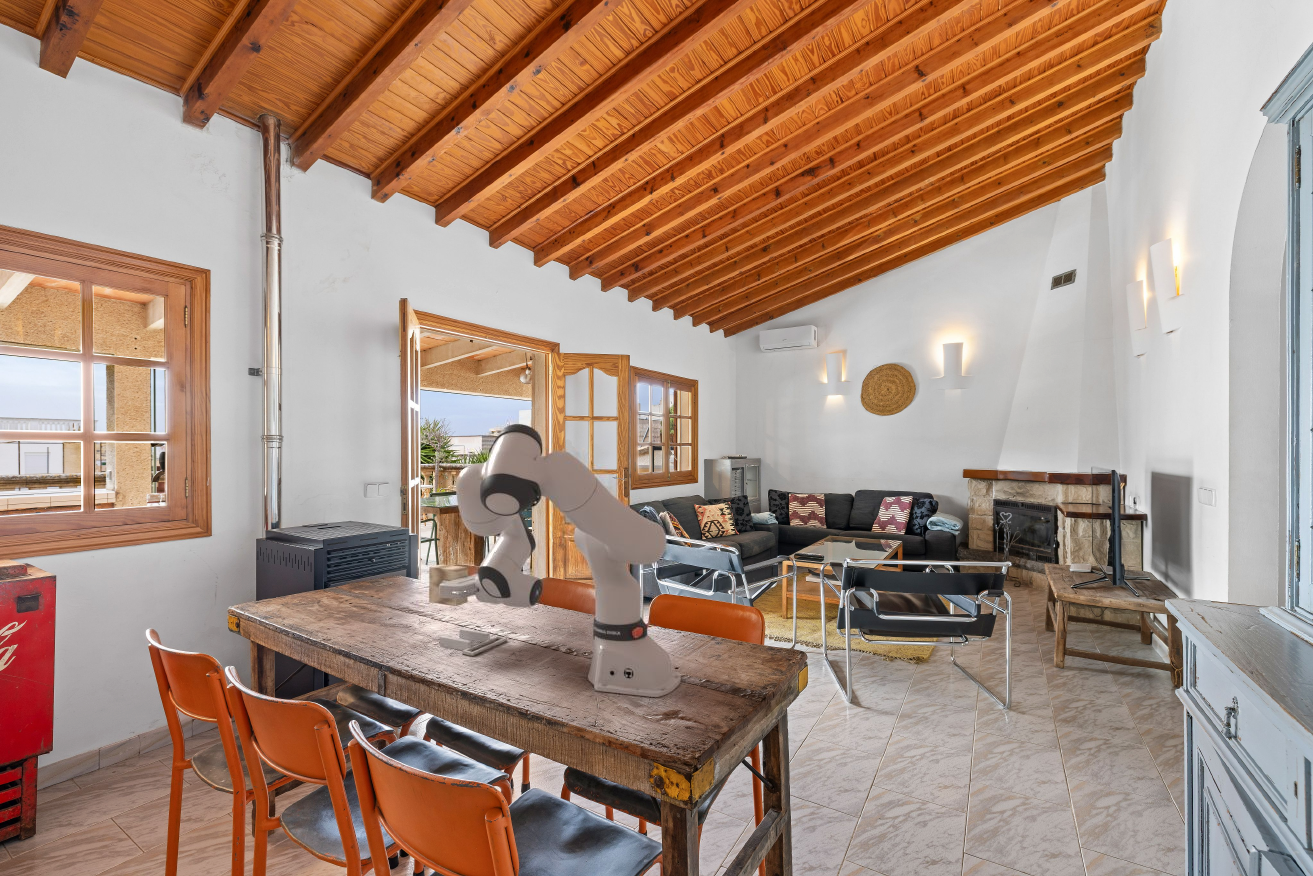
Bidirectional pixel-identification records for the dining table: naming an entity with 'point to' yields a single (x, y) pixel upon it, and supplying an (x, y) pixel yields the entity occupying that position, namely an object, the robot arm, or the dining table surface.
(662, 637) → the dining table surface
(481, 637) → the white flat piece
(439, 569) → the birch block
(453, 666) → the dining table surface
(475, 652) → the trap slot
